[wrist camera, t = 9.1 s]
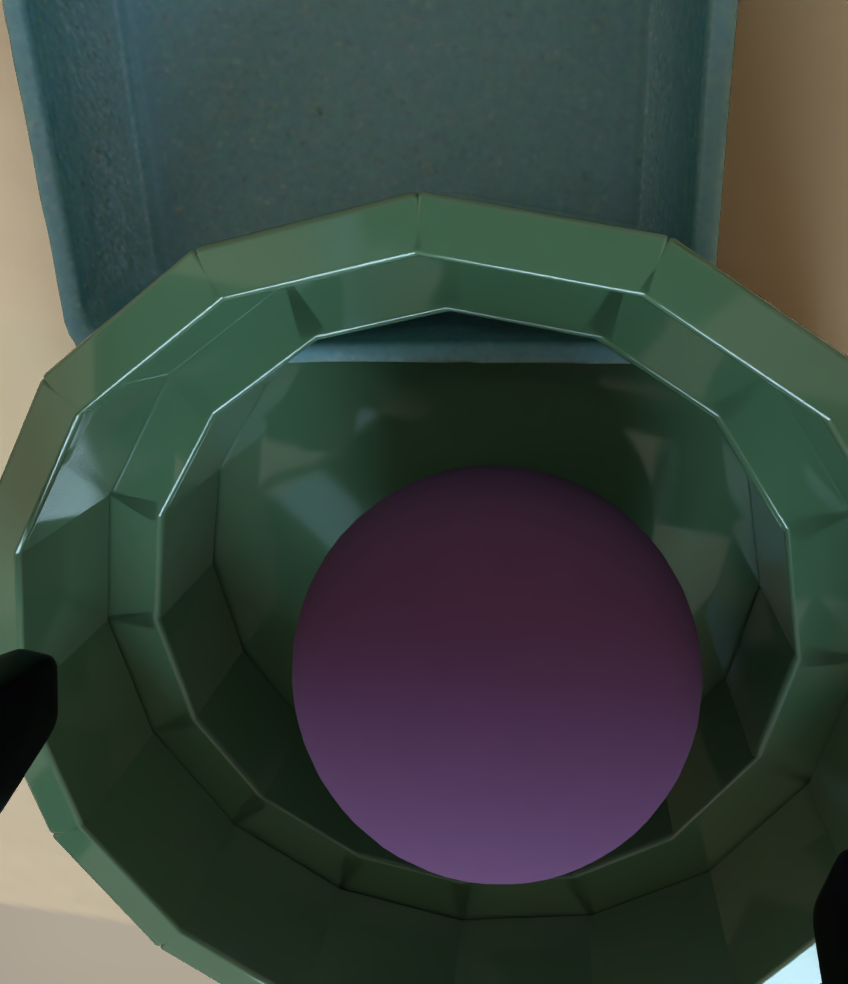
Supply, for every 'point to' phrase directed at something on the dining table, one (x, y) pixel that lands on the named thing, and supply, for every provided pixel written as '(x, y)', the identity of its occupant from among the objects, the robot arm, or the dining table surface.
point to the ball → (497, 674)
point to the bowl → (354, 490)
